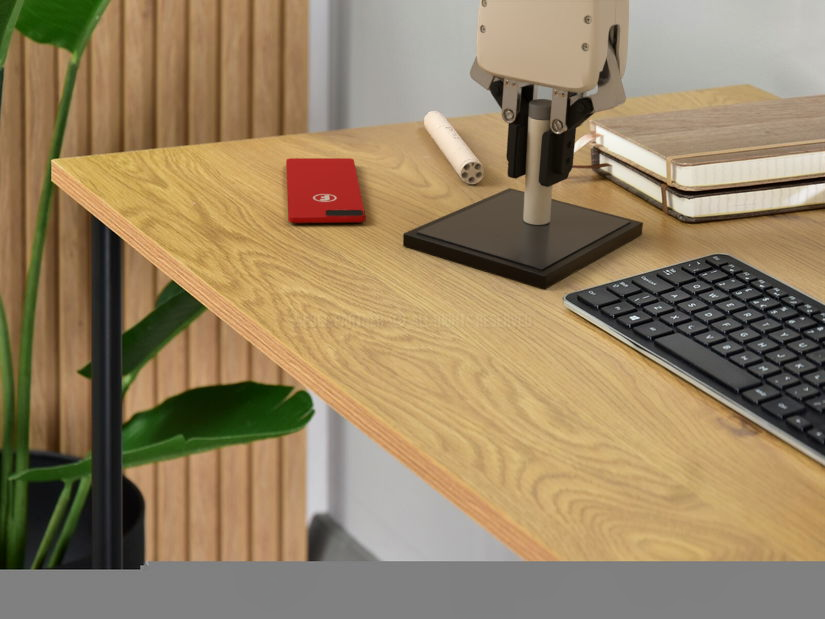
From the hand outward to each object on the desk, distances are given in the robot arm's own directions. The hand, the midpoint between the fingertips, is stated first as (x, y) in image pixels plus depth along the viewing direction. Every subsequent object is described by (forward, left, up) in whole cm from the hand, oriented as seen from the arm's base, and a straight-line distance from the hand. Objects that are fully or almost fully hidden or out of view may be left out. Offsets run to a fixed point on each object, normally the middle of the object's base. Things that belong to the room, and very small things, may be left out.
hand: (538, 176), depth 88 cm
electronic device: (+3, -18, -5) cm, 19 cm away
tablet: (+1, 0, -5) cm, 5 cm away
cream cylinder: (-13, -17, -5) cm, 22 cm away
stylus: (0, 0, -4) cm, 4 cm away
